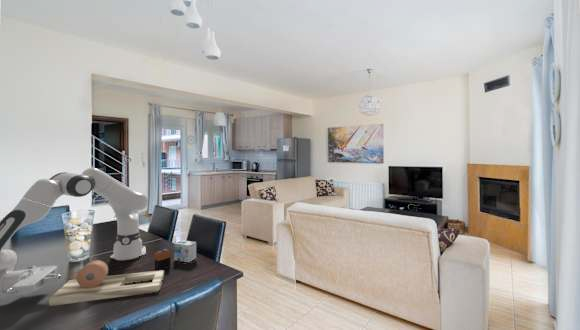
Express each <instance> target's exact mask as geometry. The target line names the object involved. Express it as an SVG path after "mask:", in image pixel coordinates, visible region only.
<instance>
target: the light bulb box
mask: <svg viewBox="0 0 580 330" xmlns="http://www.w3.org/2000/svg"><path fill="white" fill-rule="evenodd" d="M173 245H174V246H173V247H174V248H173V249H174V250H173V252H174V253H173V259H174V260H177V261H184V262H190V261H192V260H194V259H195V258H196V259H197V241H190V240H184V239H182V240H179V241H177V242H175V243H174V244H173ZM174 260H173V261H174Z"/></svg>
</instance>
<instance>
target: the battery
mask: <svg viewBox="0 0 580 330" xmlns="http://www.w3.org/2000/svg"><path fill="white" fill-rule="evenodd" d="M169 266H170V267H171V250H168V248H163V249H162V250H158V251H157V252H154V270H155V269H157V270H156V271H158V270H161V269H164V268H166V267H169ZM170 267H169V268H170ZM164 270H165V269H164Z"/></svg>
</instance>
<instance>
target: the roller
mask: <svg viewBox="0 0 580 330" xmlns="http://www.w3.org/2000/svg"><path fill="white" fill-rule="evenodd" d="M108 274H109V267H108V264H107V263H106V262H105V261H102V260H99V259H95V260H91V261H89V262H88V263H86V264H85V265H84V266H83V267H82V268H81V269H79V271H77V274H76V279H77V282H78V284H79V285H80V286H82V287H84V288H94V287H96V286H98V285H99V284H100V283H101V282H102V281H103V280H104V278H105V277H106V276H108Z"/></svg>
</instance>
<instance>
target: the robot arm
mask: <svg viewBox="0 0 580 330" xmlns="http://www.w3.org/2000/svg"><path fill="white" fill-rule="evenodd" d="M91 192H93V193H95V194H98V195H99V196H100V197H102V198H104V199H106V200H107V203H108V205H109V206H110V207H111V208H112V210H113V213H114V215H115V217H116V225H117V229H116V230H117V234H116V241H115V243H113V254H112V255H110V259H114V260H116V261H127V260H133V259H137V258H140V257H142V255H143V256H145V254H146V255H147V248H146V245H143V239H141V238H140V237H141V233H140V223H139V222H140V219H139V217H138V216H137V215H136V214H135V212H138V211H143V210H145V209H146V208H147V206H148V204H149V199H148V197H147V195H146V194H145V193H141V192H139V191H137V190H135V189H133V188H131V187H129V186H126V185H125V184H123V183H121V182H120V181H118V180H117V179H115V178H114V177H113V176H111V175H109V174H108V173H106V172H105V171H103V170H101V169H98V168H96V167H89V168H86V169H85V170H83V172H82V173H72V172H60V173H59V172H58V173H56V174H54V175H53V176H52V177H50V178H42V179H38V180H36V181H35V182H34V183H33V184H32V185H31V186H30V188H28V190H27V191H26V192H25V194H23V196H22V197H21V199H20V200H19V202H17V204H16V205H15V207H14V208H13V209H12V210H11V211H10V212H8V214H6V215H5V216H4V217H3V218H2V219H1V221H0V295H12V296H27V295H31V294H34V293H36V291H38V290H39V289H40V288H42V287H43V286H44V285H45V284H46V285H47V284H50V283H53V282H58V281H59V280H61V278H62V273H59V271H58V270H59V268H58V266H57V265H46V266H45V265H43V266H38V267H37V266H36V265H32V266H29V267H26V268H23V269H18V270H16V267H17V263H18V260H19V259H18V258H19V257H18V254H17V253H16V251H14V250H12V249H4V248H5V246H6V245H7V244H8V243H9V241H10V240H11V239H12V237H13V236H14V235H15V234H16V232H17V231H19V230H20V229H22V228H23V227H26V226H27V225H32V224H33V223H34V224H35V223H37V222H39V221H42V220H43V219H44V218H45V217H46V216H47V215H48V214H49V212H50V211H51V210H52V208H53V206H54V205H55V203H56V200H58V199H59V198H60V197H61V196H63V195H65V196H67V197H68V196H69V197H75V198H81V197H85V196H87V195H88V194H90V193H91ZM139 256H140V257H139Z"/></svg>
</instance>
